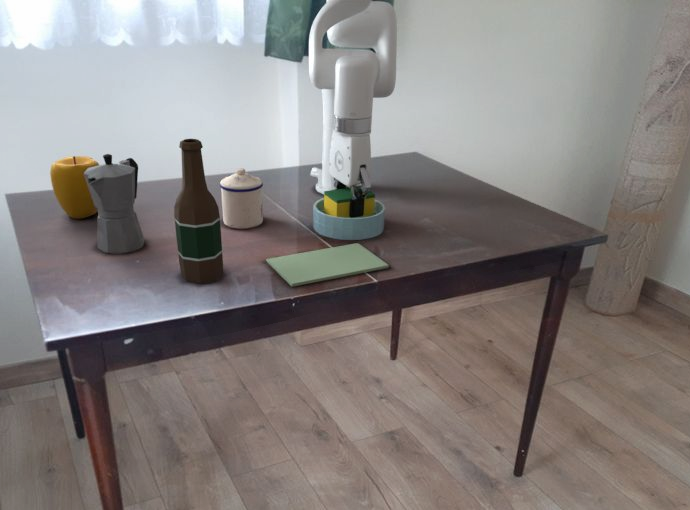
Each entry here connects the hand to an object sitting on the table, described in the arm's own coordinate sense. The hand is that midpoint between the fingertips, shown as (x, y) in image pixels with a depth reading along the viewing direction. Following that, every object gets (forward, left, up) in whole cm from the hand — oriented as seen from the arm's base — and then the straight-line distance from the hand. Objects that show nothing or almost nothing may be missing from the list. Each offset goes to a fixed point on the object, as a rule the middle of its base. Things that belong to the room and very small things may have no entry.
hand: (348, 210), depth 135 cm
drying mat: (+7, -19, -4) cm, 21 cm away
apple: (-52, -29, -4) cm, 59 cm away
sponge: (0, 0, -2) cm, 2 cm away
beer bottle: (-9, -37, -4) cm, 38 cm away
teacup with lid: (-22, -11, -4) cm, 24 cm away
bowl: (0, -1, -4) cm, 4 cm away
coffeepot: (-32, -35, -4) cm, 47 cm away
